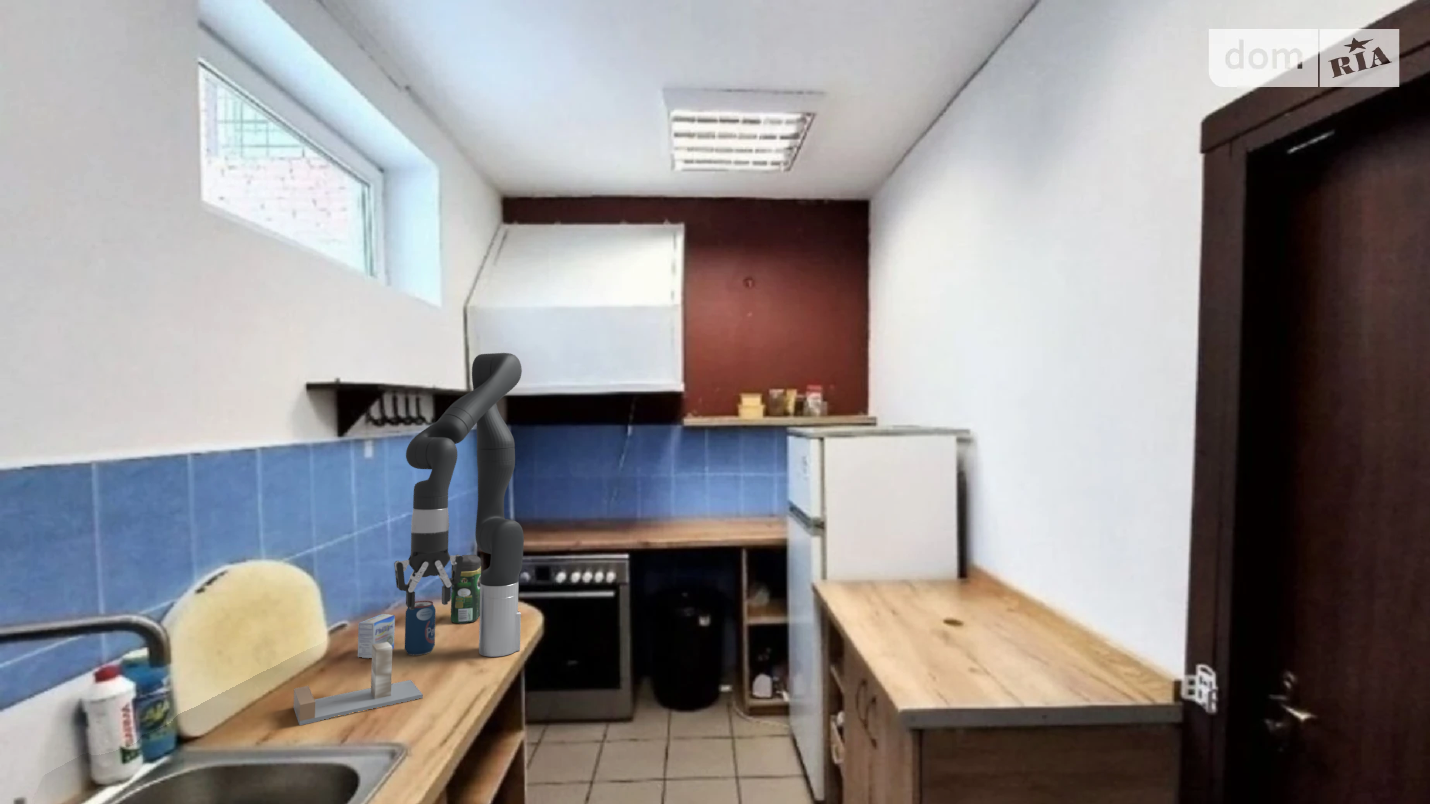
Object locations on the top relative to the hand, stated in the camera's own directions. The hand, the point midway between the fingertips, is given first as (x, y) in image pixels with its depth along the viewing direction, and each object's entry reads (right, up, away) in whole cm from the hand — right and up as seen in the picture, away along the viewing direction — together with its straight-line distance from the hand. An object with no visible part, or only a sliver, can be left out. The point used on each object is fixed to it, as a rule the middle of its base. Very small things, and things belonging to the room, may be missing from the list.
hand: (428, 606), depth 147 cm
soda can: (-12, -19, +23) cm, 32 cm away
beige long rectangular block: (-7, -17, -6) cm, 19 cm away
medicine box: (-22, -18, +21) cm, 36 cm away
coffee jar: (-11, -20, +51) cm, 56 cm away
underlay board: (-10, -17, -9) cm, 22 cm away
